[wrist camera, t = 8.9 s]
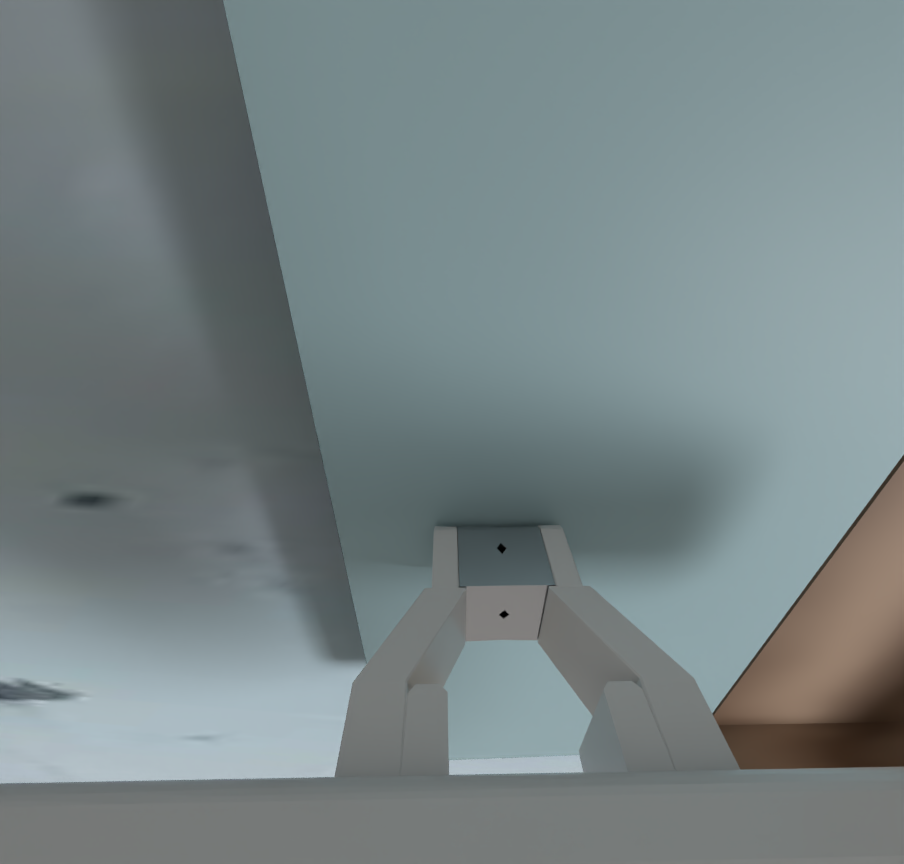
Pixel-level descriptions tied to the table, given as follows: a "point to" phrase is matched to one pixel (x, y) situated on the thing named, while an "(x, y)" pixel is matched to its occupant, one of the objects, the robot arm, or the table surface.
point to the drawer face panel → (590, 302)
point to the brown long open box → (832, 658)
